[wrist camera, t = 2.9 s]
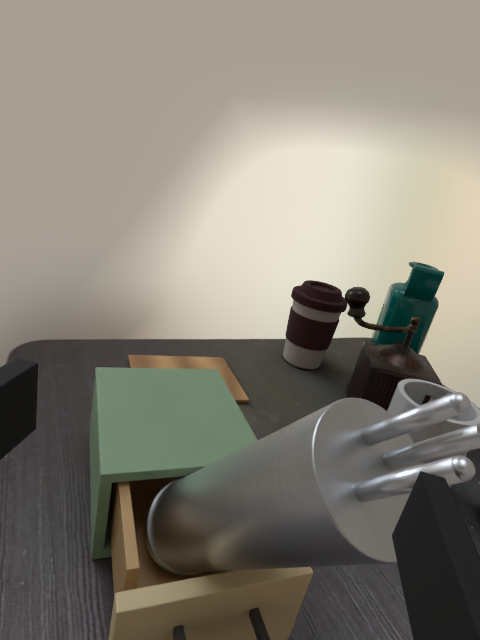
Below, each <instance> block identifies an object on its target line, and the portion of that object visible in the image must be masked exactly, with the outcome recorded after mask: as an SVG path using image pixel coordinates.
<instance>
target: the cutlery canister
mask: <svg viewBox="0 0 480 640" xmlns="http://www.w3.org/2000/svg"><path fill="white" fill-rule="evenodd" d="M469 409H470V400H469V399H468V397H467V396H466V395H464V394H463V393H459V392H454V393H451V394H448V395H446V396H443V397H441V398H438V399H436V400H433V401H431V402H428V403H425V404H423V405H420V406H418V407H415V408H413V409H410V410H408V411H405V412H403V413H400V414H398V415H395V416H392V415H391V414H390V413H388V412H387V411H386V410H384V409H383V408H382V407H380V406H378V405H377V404H375V403H373V402H370V401H368V400H364V399H361V398H344V399H340V400H338V401H336V402H334V403H332V404H330V405H328V406H326V407H324V408H322V409H320V410H318V411H316V412H314V413H312V414H310V415H308V416H306V417H304V418H302V419H300V420H298V421H296V422H294V423H292V424H290V425H288V426H286V427H284V428H282V429H280V430H278V431H276V432H274V433H272V434H270V435H268V436H266V437H264V438H262V439H260V440H258V441H256V442H254V443H252V444H250V445H248V446H246V447H244V448H242V449H240V450H238V451H236V452H234V453H232V454H230V455H228V456H226V457H224V458H222V459H220V460H218V461H216V462H214V463H212V464H210V465H208V466H206V467H204V468H202V469H200V470H198V471H196V472H194V473H192V474H190V475H188V476H185V477H180V478H177V479H174V480H172V481H170V482H168V483H167V484H165V485H164V486H162V487H161V488H160V489H159V490H158V491H157V492H156V493H155V495H154V496H153V498H152V499H151V501H150V503H149V505H148V507H147V510H146V513H145V517H144V539H145V543H146V546H147V549H148V551H149V553H150V555H151V557H152V558H153V560H154V561H155V562H156V563H157V565H158V566H160V567H161V568H162V569H163V570H165V571H167V572H169V573H171V574H174V575H179V576H190V575H196V574H199V573H202V572H210V571H232V570H254V569H277V568H299V567H321V566H343V565H365V564H387V563H397V559H396V554H395V549H394V545H393V540H392V533H393V531H394V529H395V527H396V525H397V522H398V520H399V518H400V516H401V513H402V511H403V509H404V507H405V504H406V502H407V500H408V498H409V495H410V493H411V491H412V489H413V486H414V484H415V482H416V480H417V477H418V475H419V473H420V471H422V472H426V473H430V474H433V475H437V476H440V477H444V478H445V479H446V481H447V483H448V485H452V484H457V483H462V482H467V481H469V480H471V479H472V478H473V477H474V475H475V467H474V464H473V463H472V461H471V460H470V459H468V458H467V457H465V456H461V455H457V456H452V457H448V456H451V455H455V454H459V453H463V452H466V451H470V450H474V449H478V448H480V423H477V424H474V425H471V426H468V427H465V428H462V429H458V430H455V431H452V432H449V433H446V434H443V435H439V436H436V437H433V438H430V439H427V440H424V441H420V442H417V443H414V442H413V441H412V439H411V438H410V436H409V435H408V433H410V432H413V431H416V430H419V429H422V428H425V427H427V426H430V425H433V424H436V423H439V422H442V421H445V420H448V419H451V418H454V417H456V416H459V415H462V414H465V413H466V412H467V411H468V410H469ZM444 457H448V458H445V459H441V460H437V461H433V460H436V459H440V458H444ZM429 461H433V462H429ZM425 462H429V463H426V464H424V463H425Z"/></svg>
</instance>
